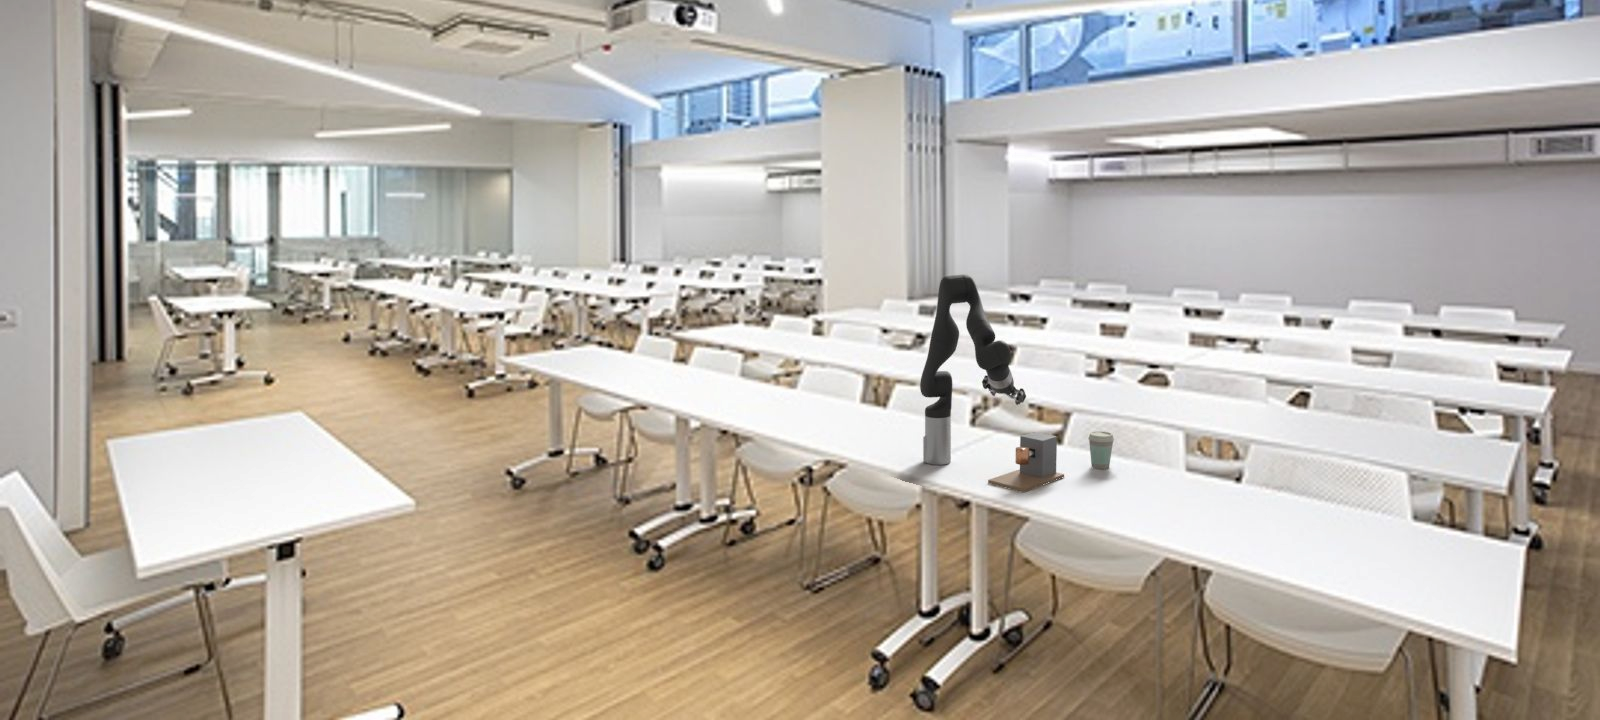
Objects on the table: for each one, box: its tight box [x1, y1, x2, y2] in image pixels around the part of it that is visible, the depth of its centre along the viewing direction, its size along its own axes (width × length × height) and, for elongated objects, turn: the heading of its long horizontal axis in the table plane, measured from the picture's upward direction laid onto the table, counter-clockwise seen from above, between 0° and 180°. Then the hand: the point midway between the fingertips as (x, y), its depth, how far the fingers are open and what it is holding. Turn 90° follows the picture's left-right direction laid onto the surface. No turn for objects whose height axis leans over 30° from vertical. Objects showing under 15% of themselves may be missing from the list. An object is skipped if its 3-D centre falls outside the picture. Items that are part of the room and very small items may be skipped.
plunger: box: [1015, 446, 1035, 466], centre depth 304 cm, size 14×4×5 cm, turn 130°
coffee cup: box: [1088, 430, 1115, 470], centre depth 316 cm, size 8×9×12 cm
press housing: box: [987, 431, 1065, 493], centre depth 302 cm, size 23×14×14 cm, turn 130°
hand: (1006, 397), depth 302 cm, fingers open, 8 cm apart
